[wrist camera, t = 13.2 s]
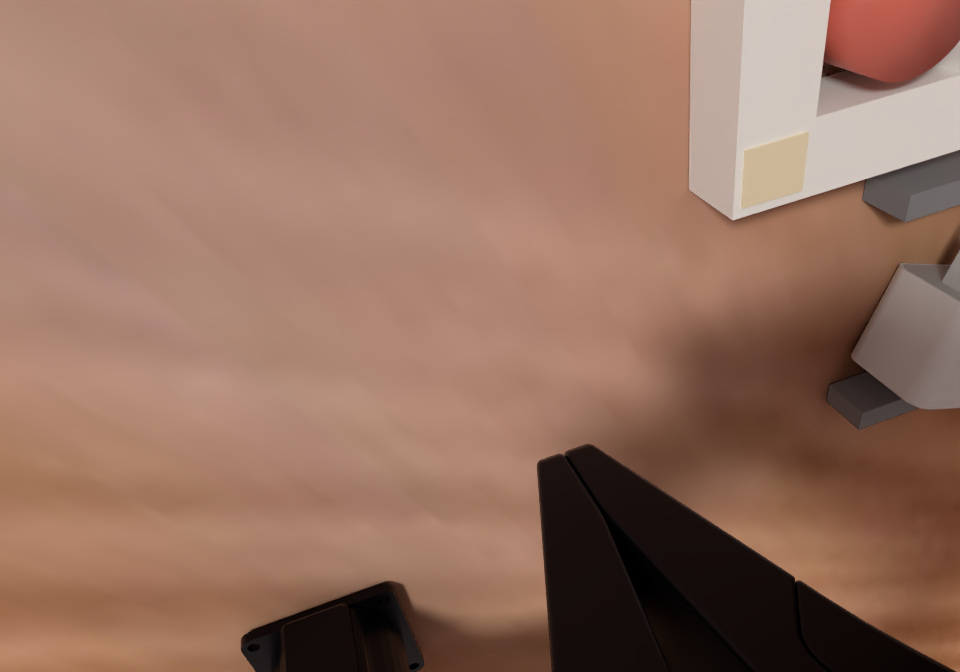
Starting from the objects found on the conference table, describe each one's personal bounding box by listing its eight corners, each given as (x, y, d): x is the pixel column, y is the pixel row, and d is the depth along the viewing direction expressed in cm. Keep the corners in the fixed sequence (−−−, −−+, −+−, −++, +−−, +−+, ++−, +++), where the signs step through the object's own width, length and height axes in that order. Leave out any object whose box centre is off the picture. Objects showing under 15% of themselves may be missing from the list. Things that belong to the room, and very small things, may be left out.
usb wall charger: (843, 352, 29) (916, 410, 26) (924, 200, 26) (1020, 245, 23) (911, 351, 31) (989, 406, 28) (997, 206, 27) (1098, 250, 24)
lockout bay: (959, 353, 32) (999, 380, 30) (826, 401, 31) (860, 431, 29) (1032, 123, 25) (1088, 140, 24) (866, 174, 24) (913, 196, 23)
